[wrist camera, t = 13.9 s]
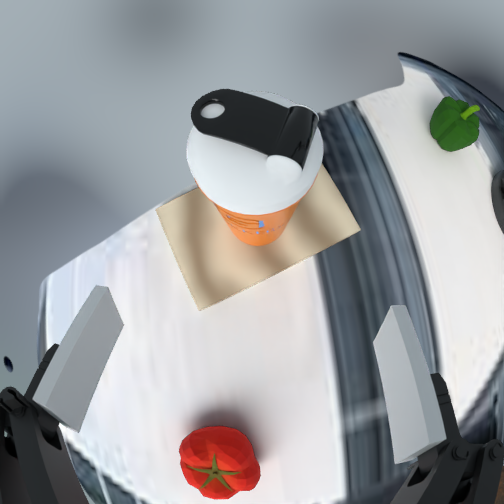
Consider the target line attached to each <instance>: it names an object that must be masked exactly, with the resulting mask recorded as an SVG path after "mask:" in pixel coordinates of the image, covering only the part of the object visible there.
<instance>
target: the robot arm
mask: <svg viewBox="0 0 504 504" xmlns="http://www.w3.org/2000/svg"><path fill="white" fill-rule="evenodd" d="M492 201H493V206H494V211H495V214H496V217H497V220H498V223H499V225H500V227H501V229H502V231H503V233H504V170H502V171H500V172H499V173H497V174H496V175H495V177H494V179H493V183H492ZM123 326H124V324H123V322H122V319H121V317H120V315H119V313H118V310H117V308H116V305H115V303H114V301H113V298H112V296H111V293H110V291H109V288H108V287H104V286H95V287H94V289H93V290H92V292H91V294H90V295H89V297H88V298H87V300H86V301H85V303H84V304H83V306H82V308H81V309H80V311H79V313H78V314H77V316H76V317H75V319H74V321H73V323H72V324H71V326H70V328H69V329H68V331H67V333H66V335H65V336H64V338H63V340H62V342H61V343H60V345H58V344H54V345H53V346H52V347H51V348H50V349H49V350H48V351H47V352H46V354H45V356H44V358H43V361H42V362H41V363H40V365H39V369H37V371H36V373H35V375H34V377H33V379H32V381H31V383H30V385H29V387H28V389H27V391H26V393H25V395H24V396H23V395H22V394H21V393H20V392H19V391H17V390H16V389H15V388H13V387H6V388H5V389H3V390H2V392H1V393H0V504H89V503H88V500H87V498H86V496H85V494H84V492H83V490H82V487H81V485H80V483H79V480H78V478H77V475H76V473H75V470H74V468H73V465H72V462H71V460H70V457H69V454H68V451H67V448H66V445H65V442H64V439H63V436H62V432H61V430H60V428H59V426H58V425H59V423H61V424H62V425H64V426H65V427H66V428H69V429H71V430H73V431H75V432H78V433H79V432H80V429H81V426H82V423H83V420H84V418H85V415H86V412H87V410H88V407H89V405H90V402H91V399H92V397H93V394H94V392H95V389H96V387H97V384H98V382H99V380H100V377H101V375H102V372H103V370H104V368H105V365H106V363H107V361H108V359H109V356H110V354H111V352H112V350H113V347H114V345H115V343H116V341H117V339H118V337H119V334H120V332H121V330H122V328H123ZM373 344H374V349H375V353H376V357H377V361H378V366H379V370H380V375H381V380H382V385H383V390H384V395H385V400H386V406H387V412H388V417H389V424H390V430H391V437H392V444H393V452H394V460H395V464H397V463H402V462H406V461H410V460H412V459H414V458H416V457H418V461H417V462H415V463H413V464H411V465H410V466H409V467H408V468H407V469H408V470H409V469H412V468H413V469H412V471H411V473H410V474H409V476H408V477H407V479H406V481H405V482H404V484H403V485H402V487H401V488H400V490H399V491H398V493H397V494H396V496H395V497H394V499H393V500H392V502H391V503H390V504H495V500H496V496H497V492H498V487H499V483H500V478H501V472H502V466H503V460H504V446H503V444H502V442H501V441H500V440H498V439H493V440H491V441H490V442H488V443H486V444H471V443H469V442H468V441H467V440H465V439H463V438H462V437H461V436H460V433H459V430H458V426H457V422H456V418H455V414H454V410H453V406H452V403H451V399H450V396H449V395H448V393H449V392H448V389H447V386H446V382H445V381H444V379H443V378H442V377H441V375H440V374H439V373H435V374H430V373H429V369H428V366H427V363H426V360H425V357H424V354H423V351H422V348H421V345H420V343H419V340H418V337H417V334H416V332H415V329H414V326H413V324H412V321H411V318H410V316H409V313H408V311H407V308H406V306H405V305H391V307H390V309H389V311H388V314H387V316H386V318H385V320H384V322H383V324H382V326H381V328H380V330H379V332H378V334H377V336H376V338H375V340H374V342H373ZM4 431H5V432H7V437H5V436H4Z"/></svg>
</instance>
